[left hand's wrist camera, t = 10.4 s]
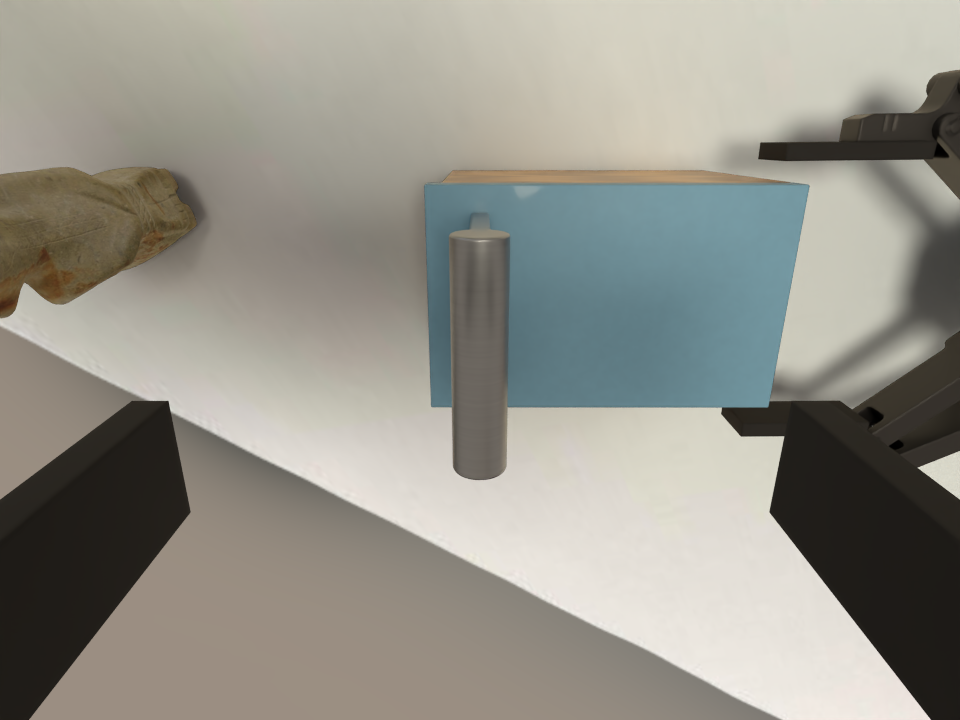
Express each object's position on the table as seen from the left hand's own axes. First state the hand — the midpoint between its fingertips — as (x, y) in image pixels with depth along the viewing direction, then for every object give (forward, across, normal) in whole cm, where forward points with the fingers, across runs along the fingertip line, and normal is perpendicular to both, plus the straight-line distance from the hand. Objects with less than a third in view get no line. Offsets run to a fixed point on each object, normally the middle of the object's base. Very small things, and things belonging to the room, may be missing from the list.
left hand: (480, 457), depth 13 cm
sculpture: (+24, -20, +2) cm, 31 cm away
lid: (+14, +5, 0) cm, 15 cm away
